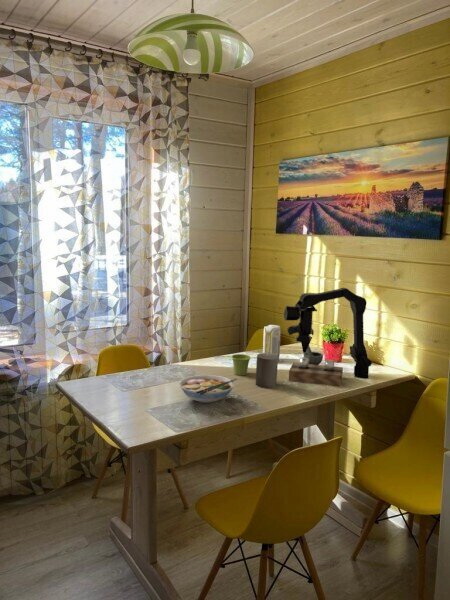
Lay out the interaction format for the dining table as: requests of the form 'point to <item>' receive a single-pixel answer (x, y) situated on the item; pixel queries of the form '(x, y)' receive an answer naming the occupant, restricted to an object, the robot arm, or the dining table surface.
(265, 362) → the pillar candle
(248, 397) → the dining table surface
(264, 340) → the juice carton
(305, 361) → the peg far
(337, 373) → the walnut block
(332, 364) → the peg near
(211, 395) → the ramen bowl
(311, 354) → the mortar and pestle
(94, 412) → the dining table surface
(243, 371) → the plant pot
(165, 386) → the dining table surface
